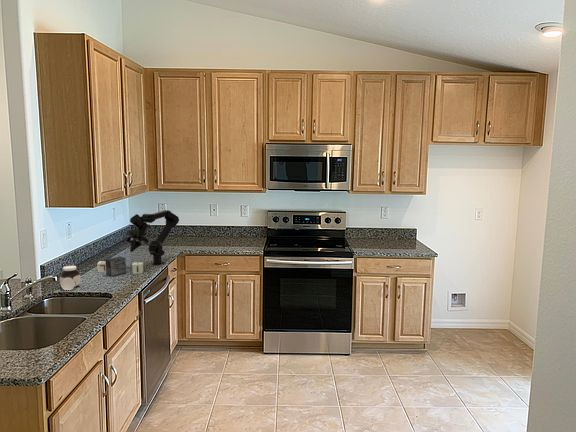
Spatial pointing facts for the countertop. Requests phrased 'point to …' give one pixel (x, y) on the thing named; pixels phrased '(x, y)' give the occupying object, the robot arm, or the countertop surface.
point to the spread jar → (70, 278)
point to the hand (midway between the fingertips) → (130, 251)
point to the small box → (115, 266)
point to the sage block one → (137, 267)
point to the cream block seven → (101, 266)
